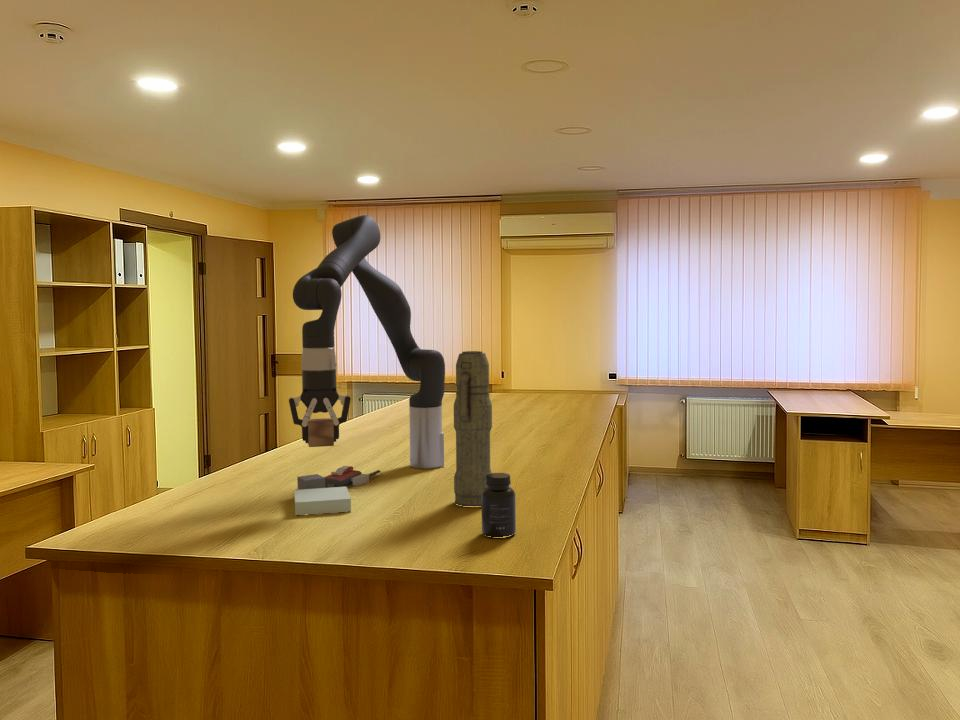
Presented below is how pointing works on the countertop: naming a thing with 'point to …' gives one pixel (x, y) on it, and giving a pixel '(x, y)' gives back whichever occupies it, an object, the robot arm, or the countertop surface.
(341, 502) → the pedestal
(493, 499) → the supplement bottle
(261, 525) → the countertop surface
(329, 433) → the walnut cube
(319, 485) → the charcoal block
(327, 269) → the robot arm
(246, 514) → the countertop surface
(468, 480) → the thermos
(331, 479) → the walkie-talkie
